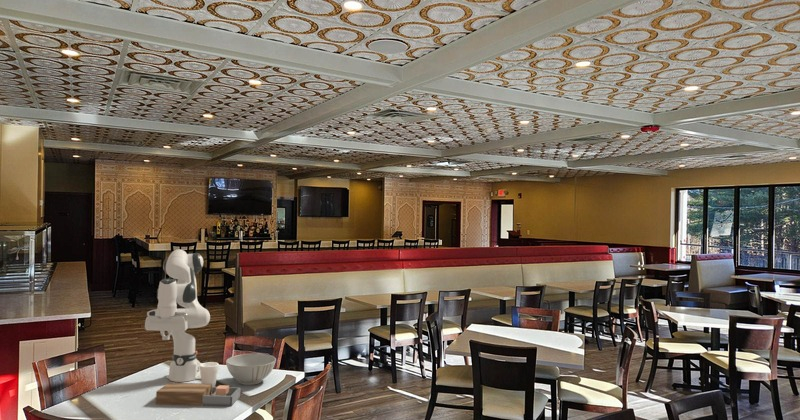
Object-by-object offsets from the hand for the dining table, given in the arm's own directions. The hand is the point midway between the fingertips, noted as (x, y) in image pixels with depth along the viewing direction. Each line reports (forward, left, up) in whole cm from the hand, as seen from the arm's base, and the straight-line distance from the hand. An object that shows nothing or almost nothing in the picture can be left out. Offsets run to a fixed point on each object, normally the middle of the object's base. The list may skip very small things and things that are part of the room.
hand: (165, 339), depth 265 cm
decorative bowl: (-30, +35, -29) cm, 55 cm away
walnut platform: (+2, +11, -29) cm, 31 cm away
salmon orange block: (+2, +29, -25) cm, 39 cm away
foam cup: (-15, +17, -29) cm, 37 cm away
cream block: (+2, +28, -25) cm, 38 cm away
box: (+2, +29, -29) cm, 41 cm away
